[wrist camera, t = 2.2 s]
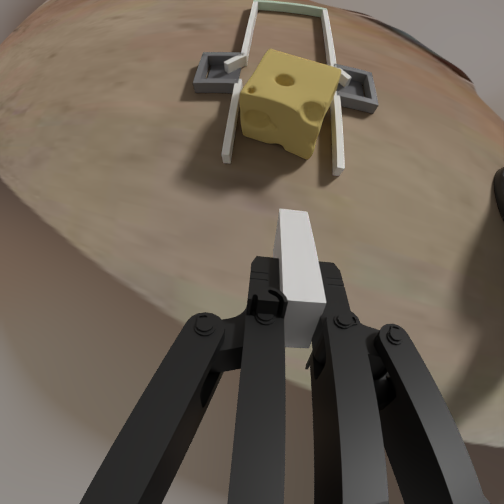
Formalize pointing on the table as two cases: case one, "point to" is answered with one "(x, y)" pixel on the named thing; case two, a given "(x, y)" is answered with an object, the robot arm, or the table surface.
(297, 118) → the cheese
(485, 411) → the table surface
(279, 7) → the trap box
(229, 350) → the robot arm
